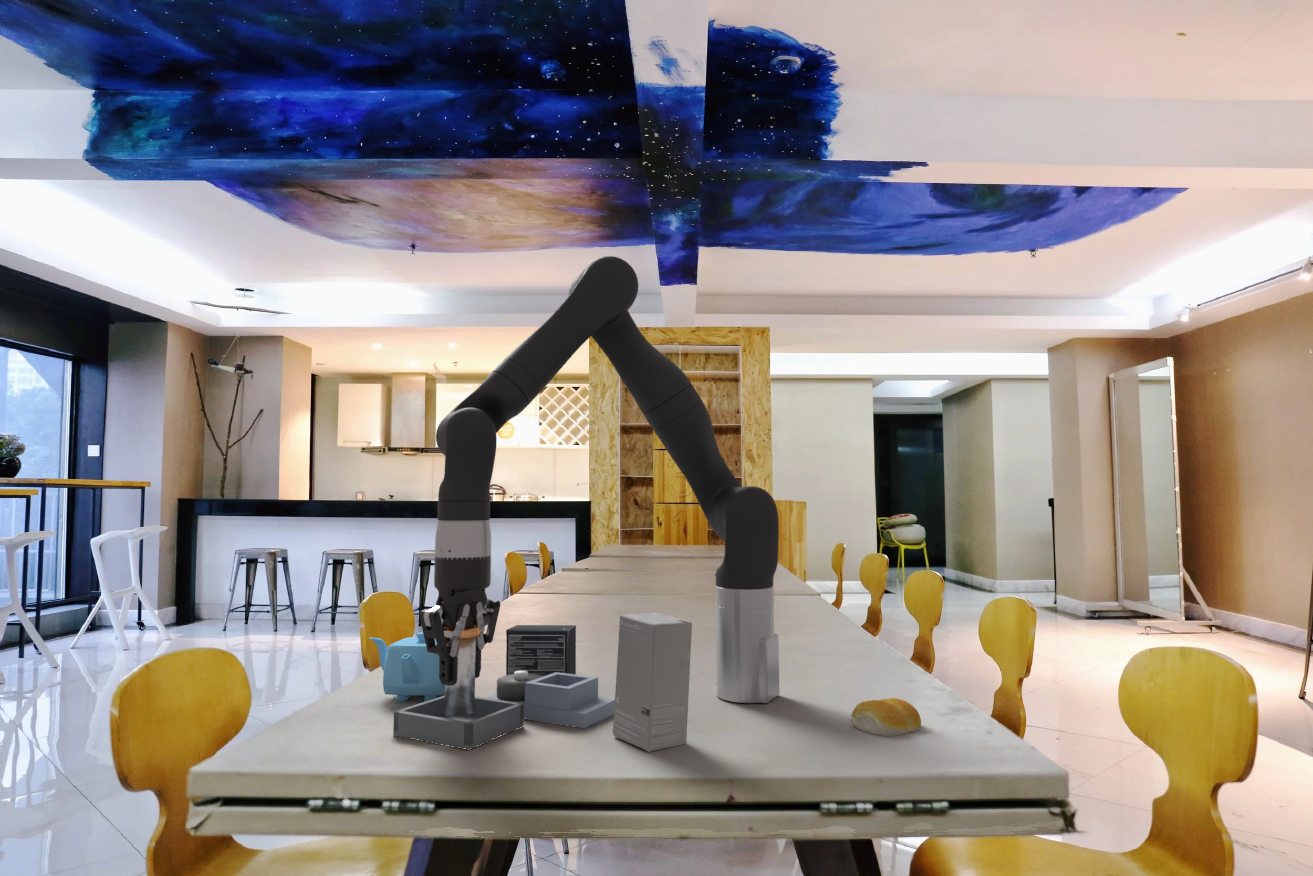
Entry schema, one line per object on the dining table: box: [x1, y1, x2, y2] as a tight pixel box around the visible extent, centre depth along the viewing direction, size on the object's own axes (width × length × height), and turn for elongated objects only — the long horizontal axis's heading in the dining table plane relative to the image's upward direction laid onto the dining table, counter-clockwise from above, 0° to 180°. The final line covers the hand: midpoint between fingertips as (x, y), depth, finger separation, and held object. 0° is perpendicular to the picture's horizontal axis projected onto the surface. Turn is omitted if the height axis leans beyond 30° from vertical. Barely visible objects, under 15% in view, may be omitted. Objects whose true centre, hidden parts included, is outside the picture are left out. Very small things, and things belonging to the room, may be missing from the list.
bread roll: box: [850, 697, 922, 737], centre depth 102 cm, size 8×9×4 cm
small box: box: [505, 624, 577, 676], centre depth 122 cm, size 11×6×10 cm, turn 84°
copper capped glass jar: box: [443, 627, 481, 717], centre depth 101 cm, size 5×5×11 cm
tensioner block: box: [483, 671, 615, 729], centre depth 109 cm, size 18×8×5 cm, turn 62°
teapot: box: [368, 631, 445, 703], centre depth 118 cm, size 18×14×10 cm
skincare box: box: [612, 612, 693, 753], centre depth 97 cm, size 8×7×16 cm
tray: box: [392, 695, 525, 749], centre depth 100 cm, size 13×11×3 cm
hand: (460, 680), depth 101 cm, fingers closed on copper capped glass jar, 4 cm apart
